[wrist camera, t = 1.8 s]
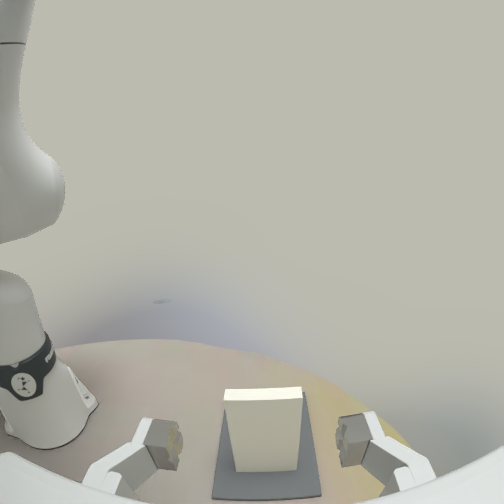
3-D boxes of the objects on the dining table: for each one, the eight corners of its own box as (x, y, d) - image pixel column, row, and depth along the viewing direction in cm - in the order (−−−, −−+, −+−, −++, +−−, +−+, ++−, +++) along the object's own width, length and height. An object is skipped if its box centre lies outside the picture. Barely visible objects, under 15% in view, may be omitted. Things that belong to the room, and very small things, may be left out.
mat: (321, 496, 22) (321, 494, 22) (212, 499, 23) (211, 497, 23) (304, 394, 41) (304, 391, 41) (227, 396, 41) (226, 394, 41)
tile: (296, 470, 26) (302, 397, 23) (236, 471, 27) (223, 400, 23) (295, 459, 28) (300, 385, 25) (237, 460, 28) (225, 387, 25)
